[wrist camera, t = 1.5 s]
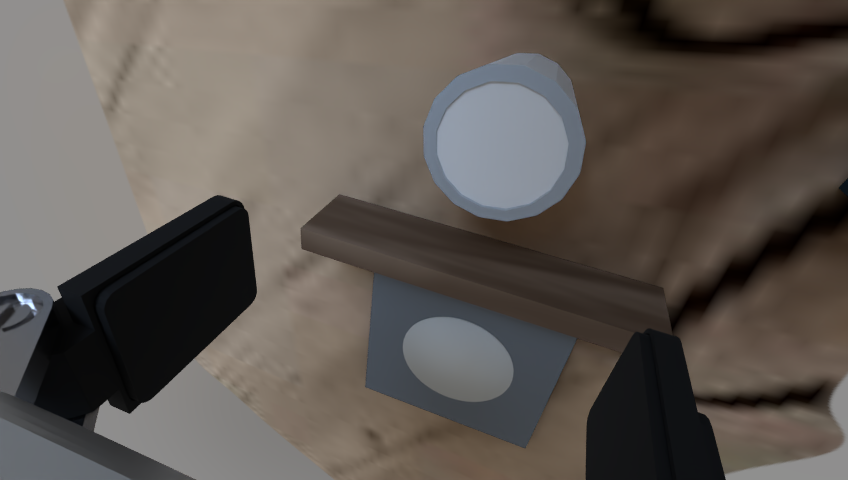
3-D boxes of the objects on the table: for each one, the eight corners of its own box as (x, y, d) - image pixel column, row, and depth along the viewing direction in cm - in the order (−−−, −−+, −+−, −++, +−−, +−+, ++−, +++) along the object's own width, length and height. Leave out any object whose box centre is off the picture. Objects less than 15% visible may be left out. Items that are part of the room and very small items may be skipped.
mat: (380, 251, 32) (374, 259, 31) (584, 314, 29) (583, 325, 28) (369, 378, 41) (364, 387, 40) (526, 438, 38) (525, 449, 37)
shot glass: (618, 95, 22) (626, 139, 16) (529, 188, 26) (510, 249, 20) (513, 9, 21) (483, 23, 16) (439, 117, 26) (394, 159, 20)
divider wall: (339, 194, 31) (300, 228, 27) (663, 288, 26) (674, 345, 22) (339, 213, 32) (301, 248, 28) (651, 307, 27) (661, 365, 23)
